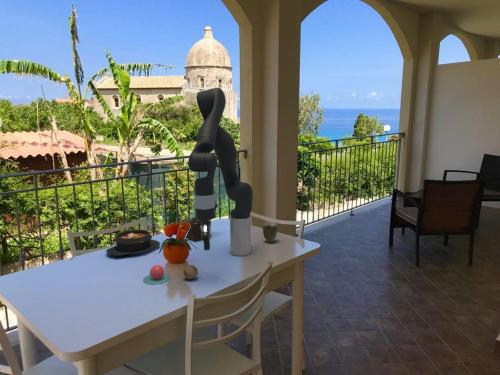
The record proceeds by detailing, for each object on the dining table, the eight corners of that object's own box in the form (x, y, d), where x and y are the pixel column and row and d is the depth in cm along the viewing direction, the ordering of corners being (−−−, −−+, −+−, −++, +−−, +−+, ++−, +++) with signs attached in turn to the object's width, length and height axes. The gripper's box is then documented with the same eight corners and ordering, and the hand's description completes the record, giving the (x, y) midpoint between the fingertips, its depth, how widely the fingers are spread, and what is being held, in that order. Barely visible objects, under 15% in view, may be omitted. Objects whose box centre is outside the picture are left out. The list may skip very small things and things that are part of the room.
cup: (279, 240, 195) (279, 225, 193) (274, 245, 188) (274, 229, 187) (265, 238, 198) (266, 223, 196) (260, 243, 191) (260, 227, 190)
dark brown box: (195, 242, 193) (194, 207, 189) (183, 237, 200) (182, 204, 197) (220, 236, 203) (219, 202, 200) (207, 231, 211) (206, 199, 208)
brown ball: (200, 265, 152) (194, 277, 152) (187, 260, 151) (181, 273, 151) (199, 271, 146) (194, 283, 147) (186, 266, 145) (180, 278, 146)
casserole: (117, 263, 166) (115, 244, 164) (100, 252, 179) (98, 235, 178) (167, 249, 183) (167, 232, 181) (148, 240, 196) (148, 224, 195)
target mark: (146, 274, 154) (146, 273, 154) (171, 273, 154) (171, 273, 154) (140, 284, 144) (140, 284, 144) (167, 284, 144) (166, 283, 144)
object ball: (167, 265, 151) (162, 278, 152) (154, 260, 151) (149, 273, 152) (164, 271, 146) (159, 284, 147) (151, 266, 146) (146, 278, 146)
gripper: (196, 202, 150) (198, 244, 154) (193, 210, 138) (195, 256, 141) (215, 201, 151) (217, 243, 154) (214, 209, 138) (216, 255, 141)
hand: (207, 249), depth 148 cm, fingers closed
